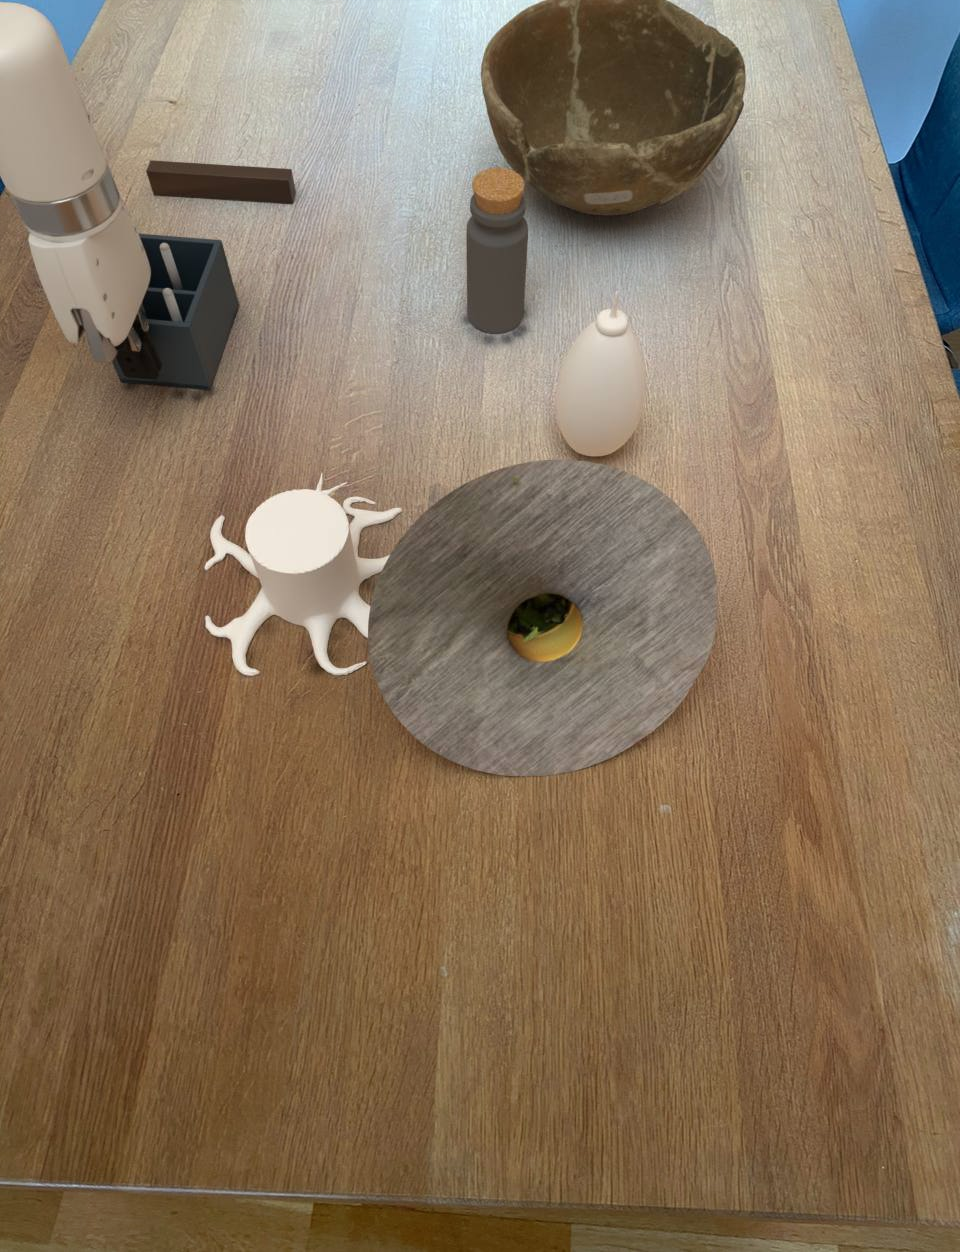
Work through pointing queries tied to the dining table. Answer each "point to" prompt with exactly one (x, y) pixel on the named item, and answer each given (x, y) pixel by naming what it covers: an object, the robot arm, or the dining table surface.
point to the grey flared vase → (542, 618)
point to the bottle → (496, 251)
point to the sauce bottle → (601, 386)
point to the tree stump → (302, 568)
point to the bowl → (611, 100)
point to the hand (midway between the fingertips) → (144, 372)
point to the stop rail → (221, 181)
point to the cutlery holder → (187, 309)
